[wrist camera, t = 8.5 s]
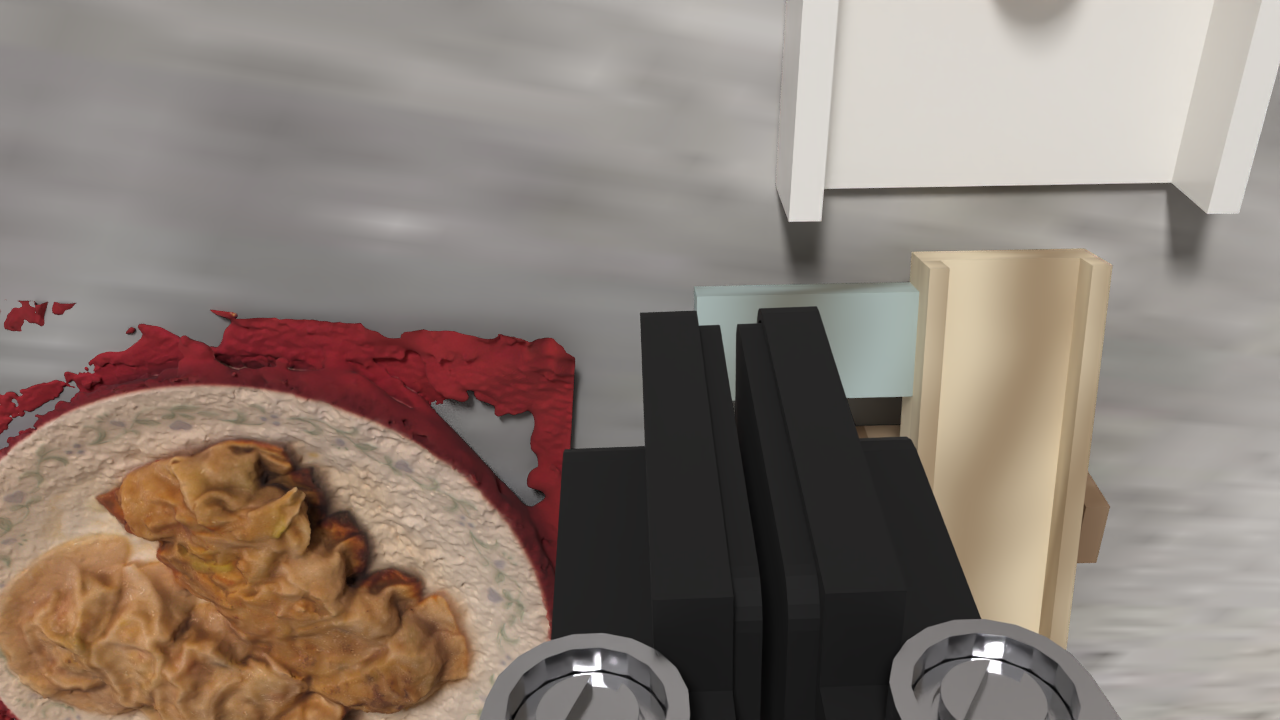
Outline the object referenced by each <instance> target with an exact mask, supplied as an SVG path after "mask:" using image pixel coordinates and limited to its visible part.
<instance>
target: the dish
mask: <svg viewBox="0 0 1280 720" xmlns="http://www.w3.org/2000/svg"><path fill="white" fill-rule="evenodd" d="M1279 64H1280V0H786V9H785V26H784V43H783V61H782V78H781V96H780V113H779V131H778V148H777V166H776V183H775V185H776V188H777V191H778V194H779V196H780V199H781V202H782V204H783V207H784V210H785V213H786V215H787V218H788V221H789V222H801V221H821V219H822V206H823V194H824V189H842V188H898V187H954V186H1009V185H1065V184H1121V183H1172V184H1173V185H1175V186H1176V187H1177V188H1178V189H1179V190H1180V191H1182V192H1183V193H1184V194H1185V195H1186V196H1187V197H1188V198H1190V199H1191V200H1192V201H1193V202H1194V203H1195V204H1196V205H1198V206H1199V207H1200V208H1201V209H1202V210H1203V211H1204V212H1206V213H1207V214H1227V213H1239V211H1240V208H1241V204H1242V200H1243V197H1244V193H1245V189H1246V185H1247V182H1248V178H1249V174H1250V171H1251V167H1252V163H1253V160H1254V156H1255V152H1256V149H1257V145H1258V141H1259V137H1260V134H1261V130H1262V126H1263V123H1264V119H1265V115H1266V112H1267V108H1268V104H1269V101H1270V97H1271V93H1272V89H1273V86H1274V82H1275V78H1276V75H1277V71H1278V67H1279Z"/></svg>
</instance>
